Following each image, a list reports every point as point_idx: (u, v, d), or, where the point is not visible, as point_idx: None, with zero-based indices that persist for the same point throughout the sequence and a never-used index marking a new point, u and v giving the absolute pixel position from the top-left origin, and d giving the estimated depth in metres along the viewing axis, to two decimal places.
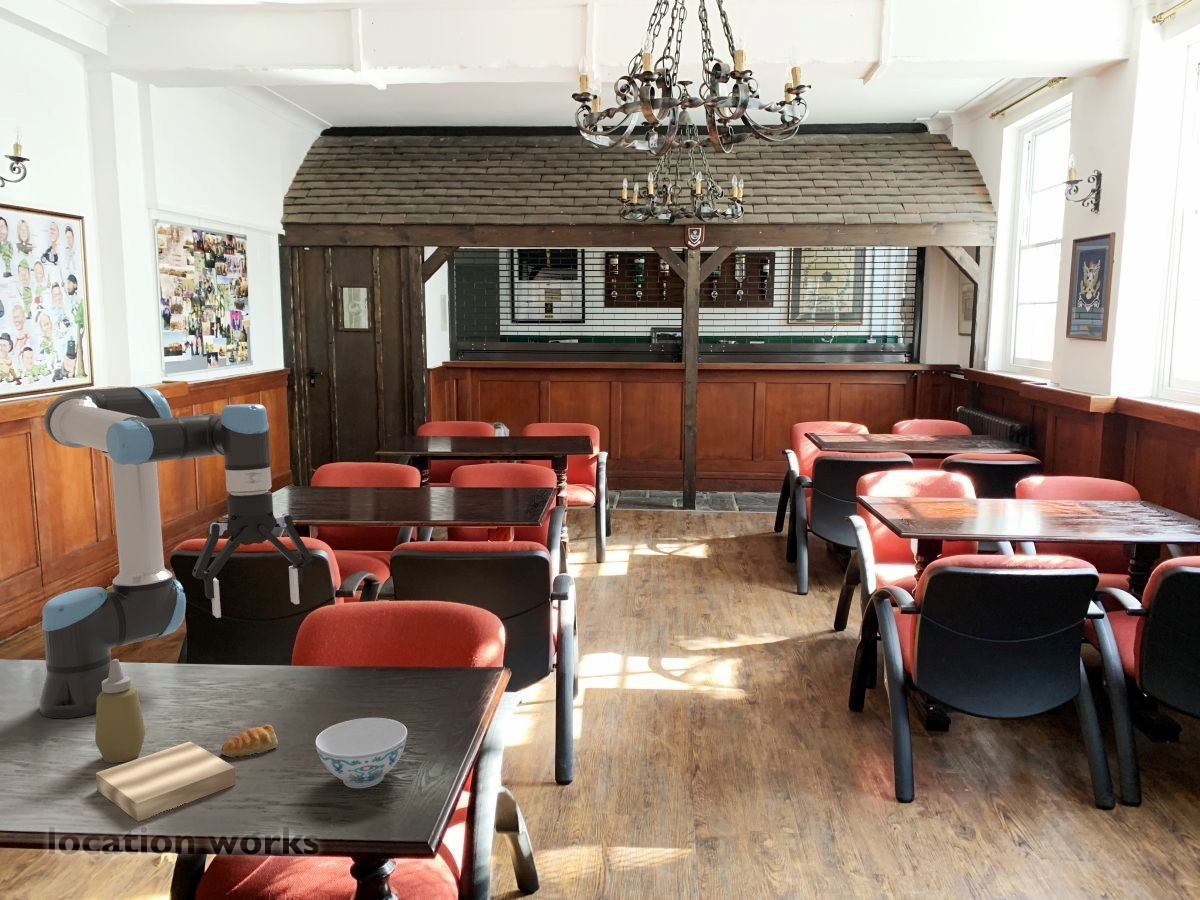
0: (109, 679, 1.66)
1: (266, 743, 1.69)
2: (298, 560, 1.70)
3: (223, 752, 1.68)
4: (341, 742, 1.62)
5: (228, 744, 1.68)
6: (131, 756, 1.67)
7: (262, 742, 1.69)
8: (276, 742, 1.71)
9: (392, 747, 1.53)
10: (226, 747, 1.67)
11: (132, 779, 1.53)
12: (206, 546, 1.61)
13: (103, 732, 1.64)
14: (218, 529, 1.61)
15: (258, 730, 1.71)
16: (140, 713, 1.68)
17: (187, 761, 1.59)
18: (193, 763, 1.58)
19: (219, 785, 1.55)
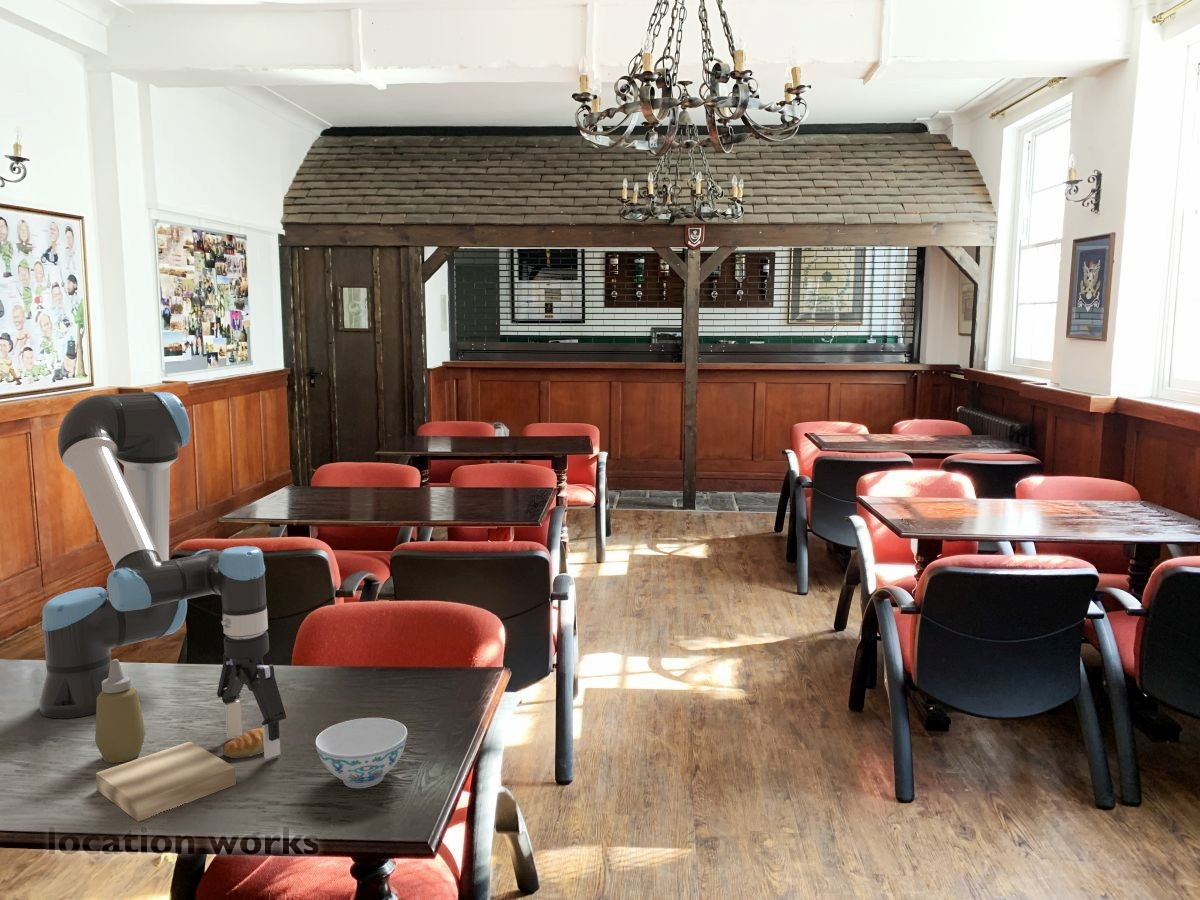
0: (109, 679, 1.66)
1: None
2: (265, 716, 1.64)
3: (224, 753, 1.67)
4: (341, 742, 1.62)
5: (230, 745, 1.67)
6: (131, 756, 1.67)
7: None
8: None
9: (392, 747, 1.53)
10: (228, 748, 1.67)
11: (132, 779, 1.53)
12: None
13: (103, 732, 1.64)
14: (225, 659, 1.72)
15: (260, 731, 1.71)
16: (140, 713, 1.68)
17: (187, 761, 1.59)
18: (193, 763, 1.58)
19: (219, 785, 1.55)
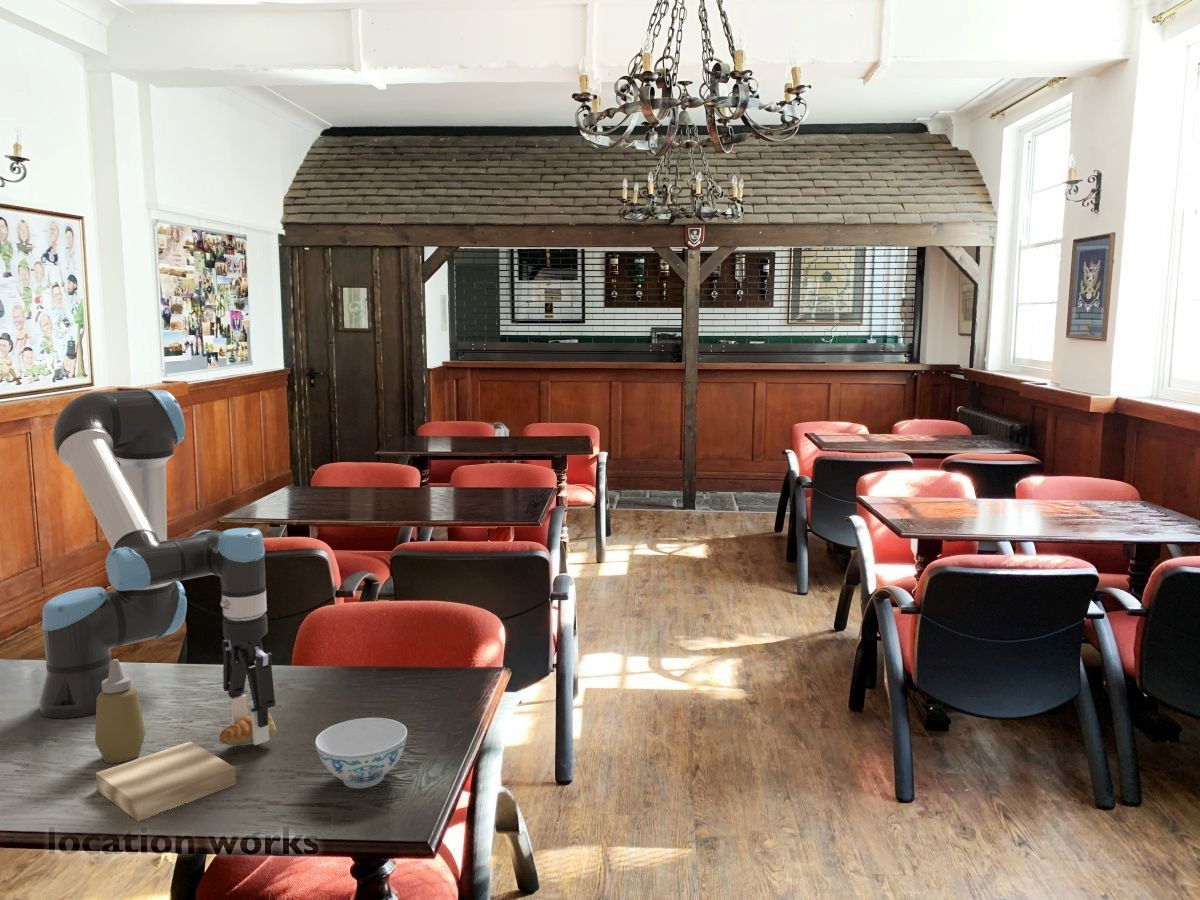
0: (109, 679, 1.66)
1: None
2: (255, 703, 1.66)
3: (221, 740, 1.67)
4: (341, 742, 1.62)
5: (227, 732, 1.68)
6: (131, 756, 1.67)
7: None
8: (274, 729, 1.71)
9: (392, 747, 1.53)
10: (225, 735, 1.67)
11: (132, 779, 1.53)
12: None
13: (103, 732, 1.64)
14: (224, 645, 1.72)
15: None
16: (140, 713, 1.68)
17: (187, 761, 1.59)
18: (193, 763, 1.58)
19: (219, 785, 1.55)
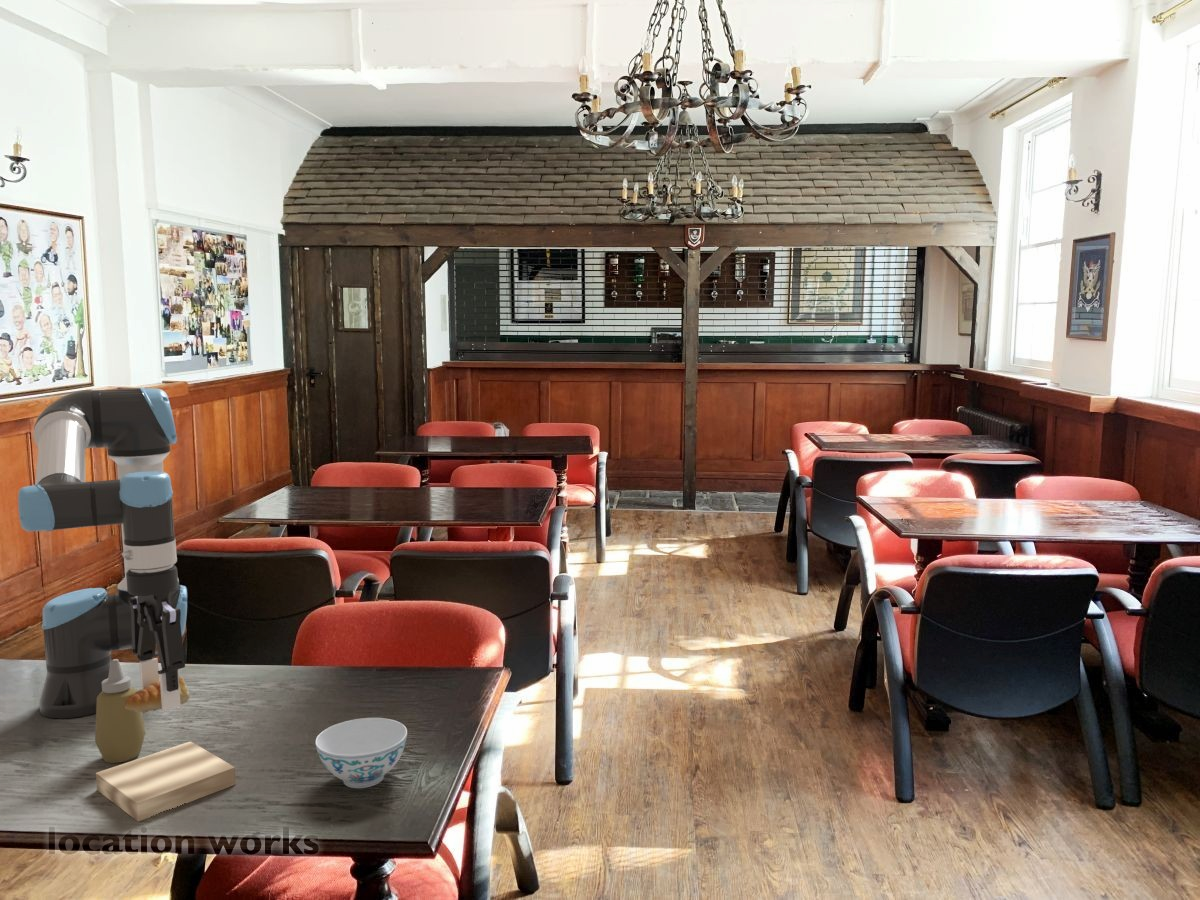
0: (109, 679, 1.66)
1: None
2: (163, 664, 1.50)
3: (126, 707, 1.51)
4: (341, 742, 1.62)
5: (132, 698, 1.51)
6: (131, 756, 1.67)
7: None
8: (187, 695, 1.55)
9: (392, 747, 1.53)
10: (130, 701, 1.51)
11: (132, 779, 1.53)
12: None
13: (103, 732, 1.64)
14: (132, 603, 1.56)
15: None
16: (140, 713, 1.68)
17: (187, 761, 1.59)
18: (193, 763, 1.58)
19: (219, 785, 1.55)
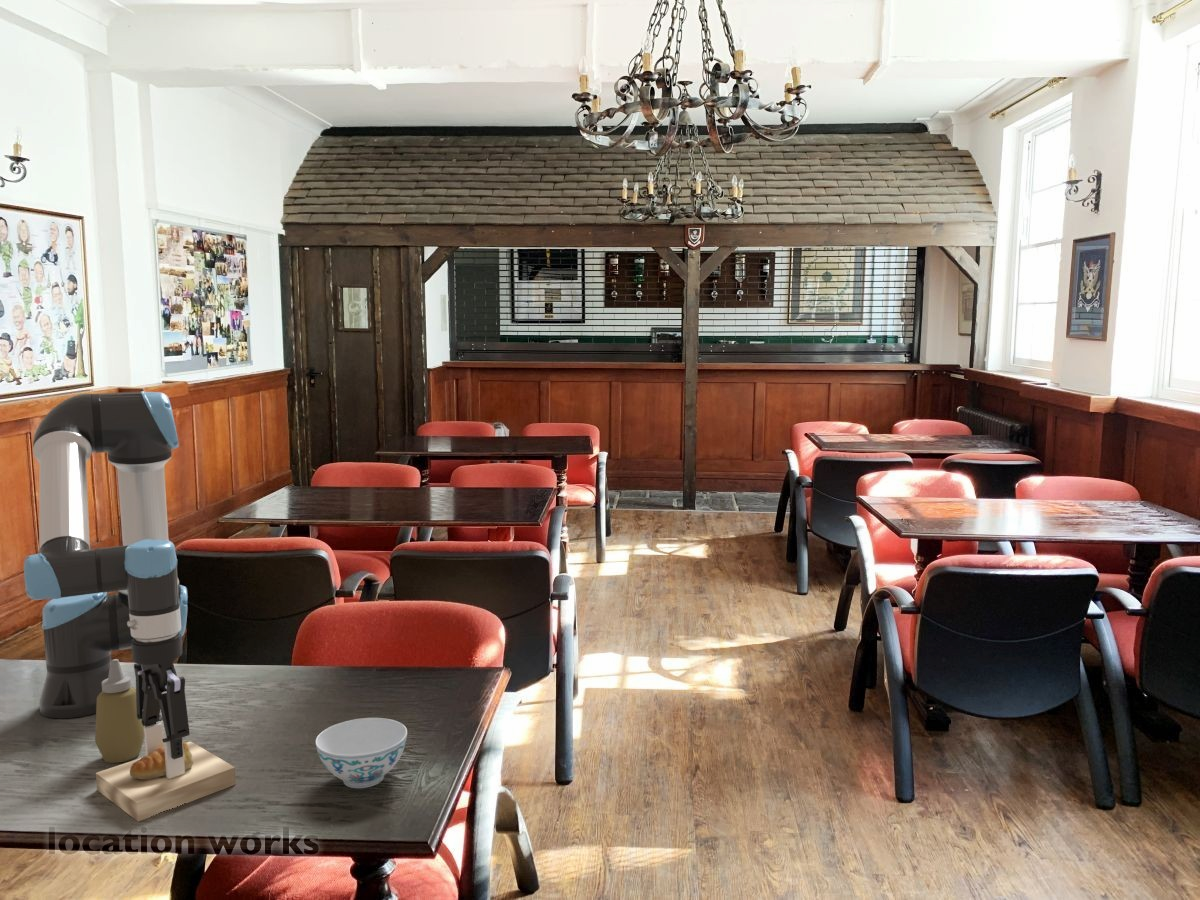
0: (109, 679, 1.66)
1: None
2: (167, 732, 1.51)
3: (131, 774, 1.52)
4: (341, 742, 1.62)
5: (137, 765, 1.52)
6: (131, 756, 1.67)
7: None
8: (191, 761, 1.56)
9: (392, 747, 1.53)
10: (135, 768, 1.52)
11: (132, 779, 1.53)
12: None
13: (103, 732, 1.64)
14: (136, 669, 1.57)
15: None
16: None
17: None
18: (193, 763, 1.58)
19: (219, 785, 1.55)
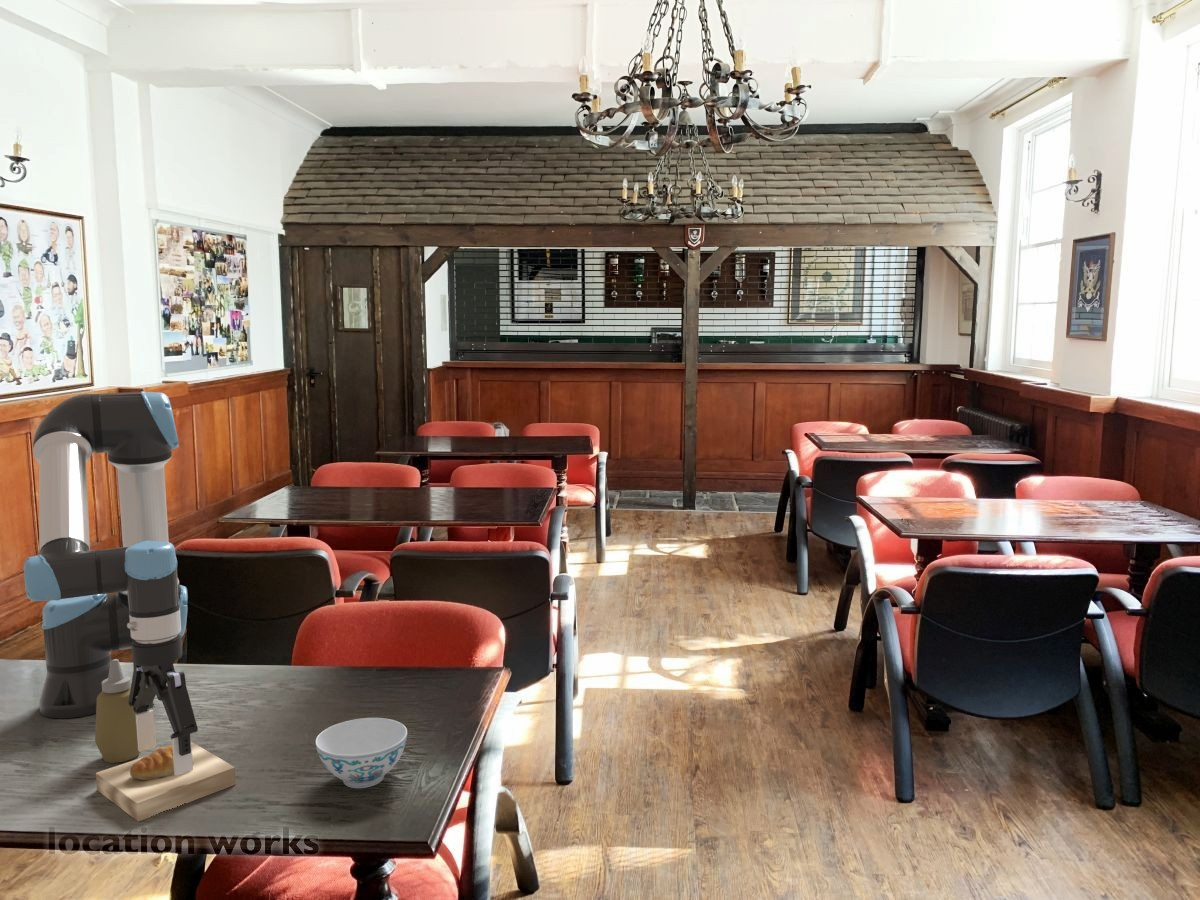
0: (109, 679, 1.66)
1: None
2: (175, 728, 1.49)
3: (131, 775, 1.52)
4: (341, 742, 1.62)
5: (138, 765, 1.52)
6: (131, 756, 1.67)
7: None
8: (192, 761, 1.56)
9: (392, 747, 1.53)
10: (135, 769, 1.52)
11: (132, 779, 1.53)
12: None
13: (103, 732, 1.64)
14: (135, 665, 1.57)
15: (171, 749, 1.56)
16: None
17: None
18: None
19: (219, 785, 1.55)
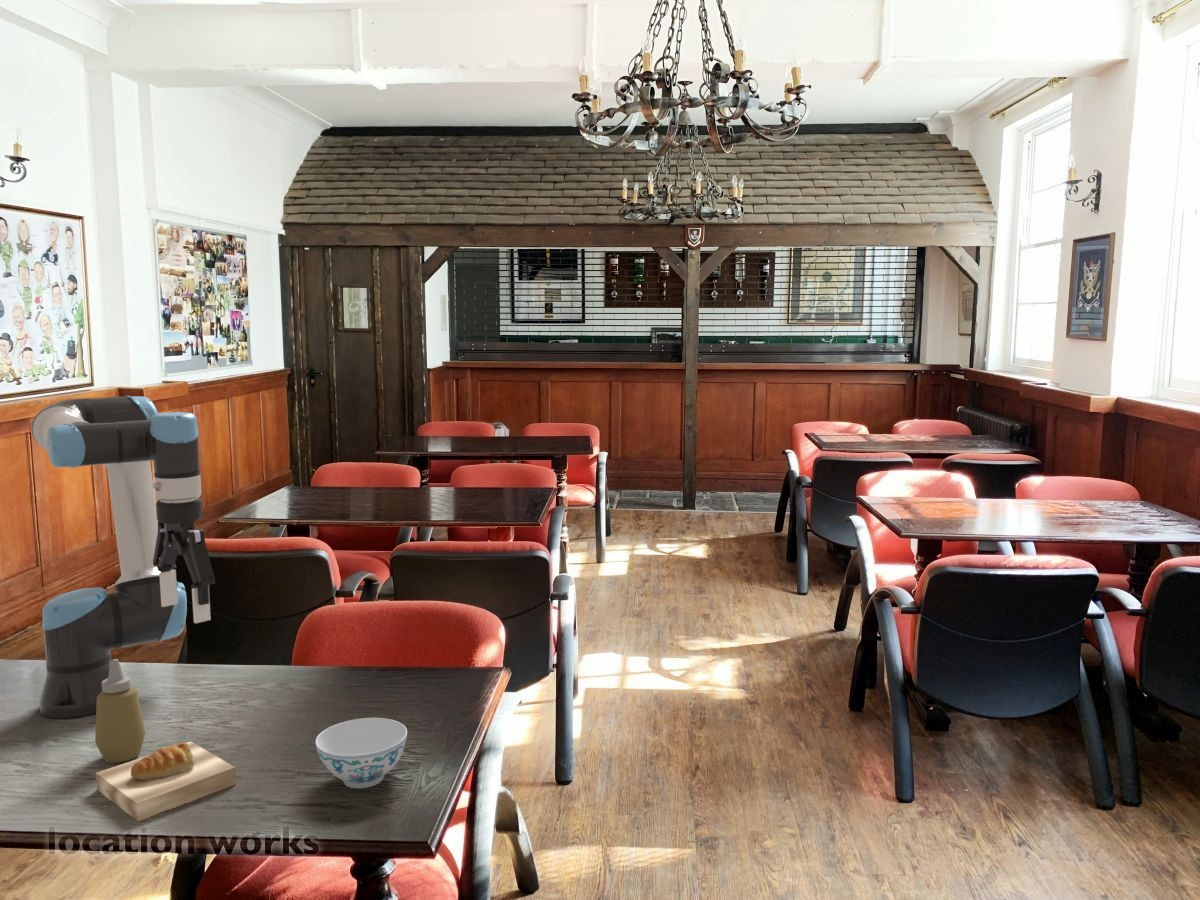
0: (109, 679, 1.66)
1: (181, 762, 1.55)
2: (194, 579, 1.64)
3: (132, 775, 1.52)
4: (341, 742, 1.62)
5: (138, 766, 1.52)
6: (131, 756, 1.67)
7: (177, 762, 1.54)
8: (193, 761, 1.56)
9: (392, 747, 1.53)
10: (136, 769, 1.52)
11: (132, 779, 1.53)
12: None
13: (103, 732, 1.64)
14: (160, 526, 1.72)
15: (172, 749, 1.56)
16: (140, 713, 1.68)
17: None
18: None
19: (219, 785, 1.55)
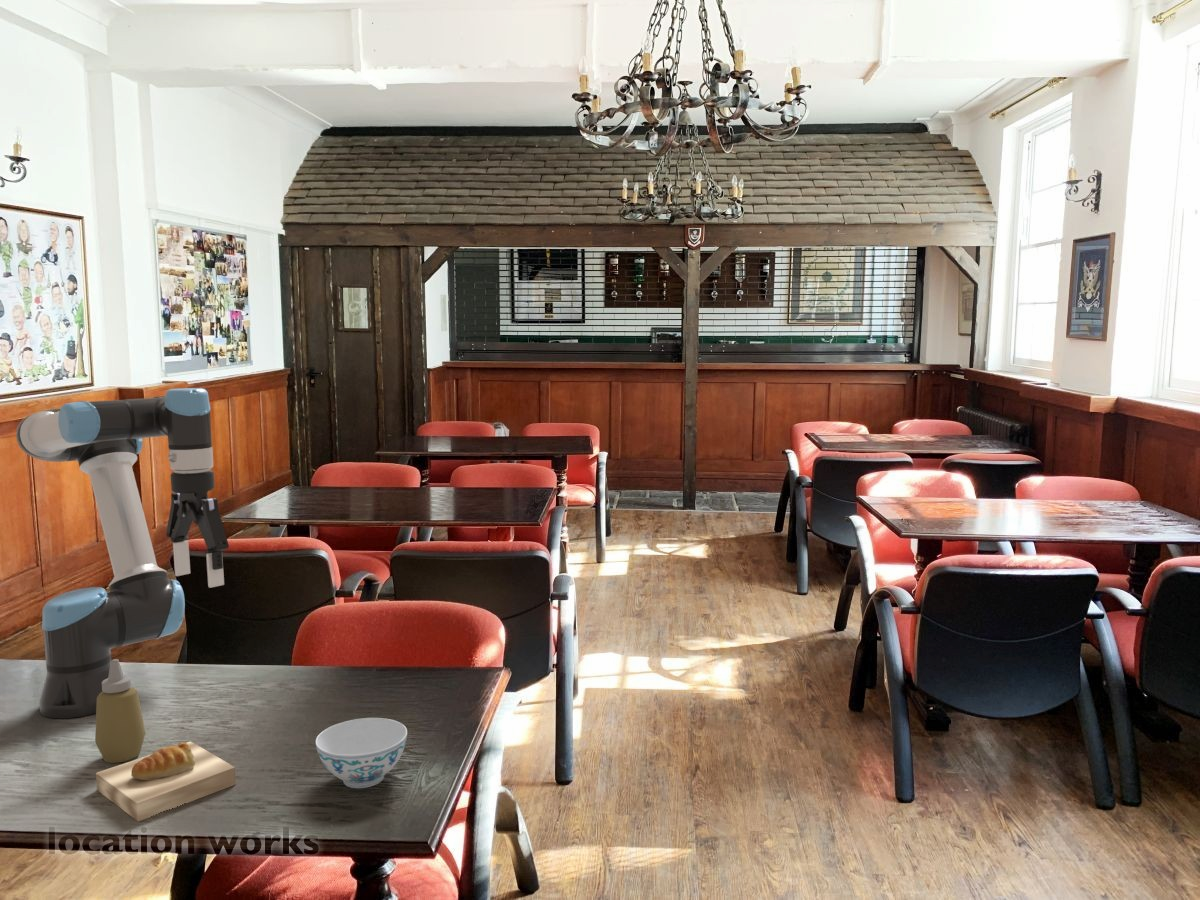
0: (109, 679, 1.65)
1: (182, 762, 1.54)
2: (209, 545, 1.72)
3: (133, 775, 1.52)
4: (341, 742, 1.62)
5: (139, 766, 1.52)
6: (131, 756, 1.67)
7: (178, 762, 1.54)
8: (193, 762, 1.56)
9: (392, 747, 1.53)
10: (137, 769, 1.52)
11: (132, 779, 1.53)
12: None
13: (103, 732, 1.64)
14: (173, 498, 1.80)
15: (173, 749, 1.56)
16: (140, 713, 1.68)
17: None
18: None
19: (219, 785, 1.55)
